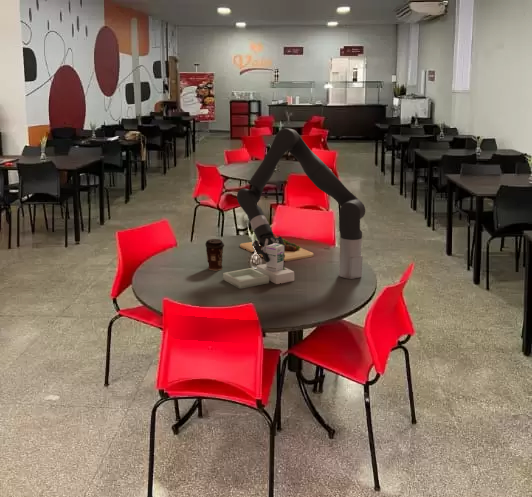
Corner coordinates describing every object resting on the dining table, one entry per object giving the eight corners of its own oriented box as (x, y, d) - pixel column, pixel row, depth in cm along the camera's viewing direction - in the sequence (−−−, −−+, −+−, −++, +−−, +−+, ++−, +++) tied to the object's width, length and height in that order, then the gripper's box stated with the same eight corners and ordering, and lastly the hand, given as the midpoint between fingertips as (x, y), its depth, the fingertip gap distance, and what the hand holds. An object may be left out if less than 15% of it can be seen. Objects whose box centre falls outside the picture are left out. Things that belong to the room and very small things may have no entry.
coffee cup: (201, 269, 290) (201, 241, 287) (211, 264, 297) (211, 237, 294) (218, 272, 286) (217, 244, 283) (228, 267, 294) (227, 239, 290)
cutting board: (237, 247, 329) (237, 232, 327) (276, 241, 341) (277, 227, 339) (274, 264, 301) (274, 249, 299) (315, 257, 312) (316, 242, 310)
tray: (268, 283, 273) (268, 276, 272) (240, 288, 265) (239, 281, 264) (251, 274, 284) (251, 267, 283) (223, 279, 277) (223, 273, 276)
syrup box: (276, 280, 276) (277, 247, 272) (265, 277, 280) (265, 245, 276) (284, 277, 281) (285, 244, 277) (273, 274, 284) (273, 242, 280)
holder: (294, 280, 276) (294, 271, 275) (276, 284, 271) (276, 275, 270) (273, 271, 289) (273, 262, 288) (256, 274, 284) (256, 265, 283)
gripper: (250, 225, 277) (265, 258, 271) (278, 221, 285) (293, 253, 278) (244, 234, 283) (258, 267, 277) (271, 230, 290) (286, 261, 284)
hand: (275, 259), depth 277 cm, fingers closed on syrup box, 7 cm apart
